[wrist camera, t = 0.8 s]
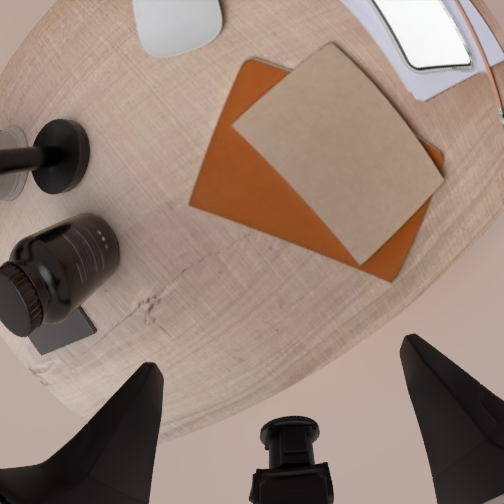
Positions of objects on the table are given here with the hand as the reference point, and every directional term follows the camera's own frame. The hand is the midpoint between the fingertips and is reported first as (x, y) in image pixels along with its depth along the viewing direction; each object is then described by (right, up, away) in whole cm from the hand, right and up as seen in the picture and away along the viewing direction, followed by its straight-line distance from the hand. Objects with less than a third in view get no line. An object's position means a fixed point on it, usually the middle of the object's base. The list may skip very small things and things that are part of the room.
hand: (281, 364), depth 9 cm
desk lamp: (-19, +13, +11) cm, 26 cm away
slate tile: (-26, -4, +17) cm, 32 cm away
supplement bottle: (-16, +4, +14) cm, 22 cm away
